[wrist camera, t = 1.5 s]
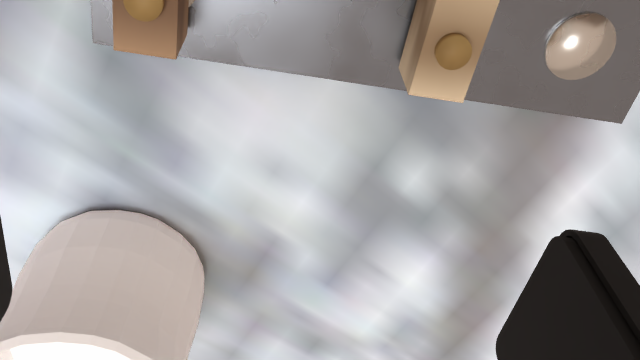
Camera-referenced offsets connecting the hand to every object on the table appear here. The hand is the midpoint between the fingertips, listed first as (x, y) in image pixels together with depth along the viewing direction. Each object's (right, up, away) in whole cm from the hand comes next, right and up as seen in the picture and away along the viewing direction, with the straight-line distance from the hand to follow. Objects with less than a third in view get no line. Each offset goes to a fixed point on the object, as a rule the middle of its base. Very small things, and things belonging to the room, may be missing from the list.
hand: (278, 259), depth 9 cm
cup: (-11, -4, +25) cm, 28 cm away
